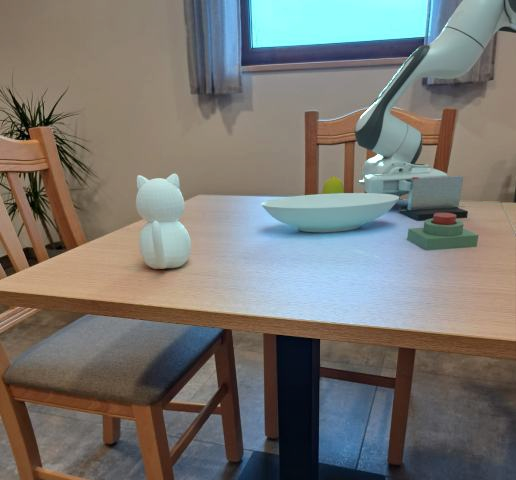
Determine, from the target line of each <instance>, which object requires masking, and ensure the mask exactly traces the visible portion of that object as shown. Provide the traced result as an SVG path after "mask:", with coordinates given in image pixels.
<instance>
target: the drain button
mask: <svg viewBox="0 0 516 480" xmlns="http://www.w3.org/2000/svg"><path fill="white" fill-rule="evenodd" d="M456 220H457V218H456V215H455V214H452V213H435V214H434V215H433V223H434V224H439V225H454V224H455V221H456Z"/></svg>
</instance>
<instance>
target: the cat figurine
mask: <svg viewBox="0 0 516 480" xmlns="http://www.w3.org/2000/svg"><path fill="white" fill-rule="evenodd" d="M180 187H181V185H180V177H179V176H178V174H177V173H172V174H170V175H169V176H167V177H166V178H161V177H157V178H156V177H155V178H152V179H148V178H146V177H145V176H143V175H140V174H139V175H137V176H136V188H137V193H136V198H135V208H136V211H137V213H138V215H139V216H140V217H141V218H142V219H143V220H144V221H145V222H146V223H145V224H144V225H143V226H142V229H141V230H140V232H139V236H138V249H139V253H140V256H141V259H142V260H143V262H145V264H146V265H147V266H148V267H150V268H151V269H154V270H164V269H176V268H181V267H182V266H183V265H184V264H185V263H187V261H188V259H189V257H190V255H191V250H192V239H191V236H190V234H189V232H188V230H187V229H186V227H185V226H184V225H183V224H182V223H181V222H180V221H178V220H179V219H180V218H181V217H182V215H183V214H184V212H185V200H184V196H183V194H182V191H181V190H180Z"/></svg>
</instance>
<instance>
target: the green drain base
mask: <svg viewBox="0 0 516 480" xmlns="http://www.w3.org/2000/svg"><path fill="white" fill-rule="evenodd" d="M464 223H465V222H464V221H462V220H459V219H456V221H455V224H454V225H439V224H434V223H433V218H432V219H427V220H425V221H423V227H413V228H408V229H407V239H406V240H407V241H409V242H411V243H413V244H414V245H416V246H418V247H419V248H421V249H422V250H424V251H437V250H449V249H461V248H464V249H465V248H474V247H477V245H478V241H479V234H477V233H476V232H473V231H470V230H468V229H466V228H464Z"/></svg>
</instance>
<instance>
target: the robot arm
mask: <svg viewBox="0 0 516 480" xmlns="http://www.w3.org/2000/svg"><path fill="white" fill-rule="evenodd" d="M498 31H499V32H505V33H512V34H516V0H462V1H461V2H460V4H458V6H457V7H456V9H455V10H454V12H453V13H452V14H451V16H450V18H449V19H448V21H447V22H446V24H445V25H444V27H443V29H442V31H441V32H440V33H439V34H438V36H437V37H436V38H435V39H434V40H432V41H431V42H430V43H429V44H423V45H420V46H418V47H417V49H415V50H414V51H413V52H412V54H410V56H409V57H408V58H407V59H406V60H405V61H404V63H403V64H402V65H401V67H400V68H399V69H398V70H397V71H396V72H395V74H394V76H392V78H391V79H390V81H389V82H388V83H387V84H386V86H385V87H384V89H383V90H382V91H381V92H380V93H379V95H378V96H377V97H376V98H375V100H374V101H373V102H372V103H371V104H370V106H368V108H367V109H366V110H365V111H364V112H363V113H362V114H361V115H360V117H359V119H358V120H357V122H356V123H355V126H354V130H353V131H354V137H355V140H356V143H357V145H358V146H359V147H361V148H364V149H366V150H368V151H372V152H373V153H374V154H376V155H375V156H373V157H370V158H368V159H367V160H366V161H365V162H364V163H363V165H362V167H361V178H362V179H359V180H358V181H357V184H358V185H360V186H363V191H364V192H365V193H377V194H390V195H396V196H399V198H400V197H402V196H405V195H409V191H410V183H411V178H412V177H418V178H425V177H443V176H449V175H448V173H447V172H445V171H442V170H439V169H436V168H433V167H430V165H429V164H423V163H417V161H418V159H419V157H420V156H421V153H422V150H423V135H422V132H421V131H420V130H418V129H417V128H416V127H414V126H412V125H411V124H408V123H407V122H405V121H403V120H401V119H400V118H398V117H396V116H395V115H393V114H392V113H391V112H392V110H393V108H394V107H395V106H396V104H397V103H398V102H399V101H400V100H401V98H402V97H403V96H404V94H405V93H406V92H407V90H408V89H409V88H410V87H411V85H412V84H413V83H415V82H416V81H418V80H419V79H423V78H433V79H441V80H453V79H457V78H460V77H462V76H464V75H466V74H467V73H468V72H470V71H471V69H472V68H473V67H474V66H475V64H476V63H477V62H478V60H479V59H480V57H481V56H482V54H483V53H484V51H485V49H486V48H487V46H488V45H489V43H490V41H491V40H492V38H493V37H494V36H495V34H496V33H497V32H498Z"/></svg>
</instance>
